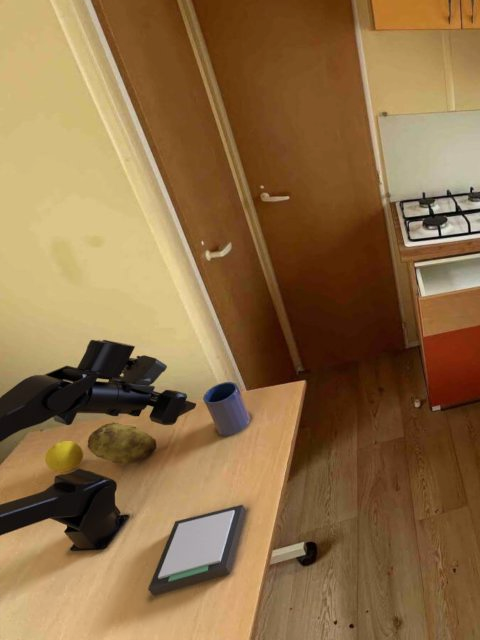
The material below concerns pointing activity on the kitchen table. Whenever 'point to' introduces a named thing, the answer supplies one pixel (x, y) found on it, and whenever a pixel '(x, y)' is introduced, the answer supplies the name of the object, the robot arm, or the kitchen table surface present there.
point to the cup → (227, 408)
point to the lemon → (64, 456)
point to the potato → (121, 443)
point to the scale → (199, 550)
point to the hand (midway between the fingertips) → (179, 401)
